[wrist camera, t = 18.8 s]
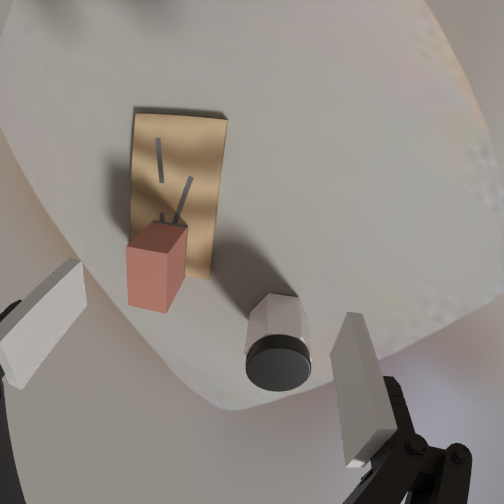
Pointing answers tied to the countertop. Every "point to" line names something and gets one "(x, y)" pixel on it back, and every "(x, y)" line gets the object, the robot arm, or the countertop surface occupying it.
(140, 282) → the block
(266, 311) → the jar
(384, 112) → the countertop surface
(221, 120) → the board
